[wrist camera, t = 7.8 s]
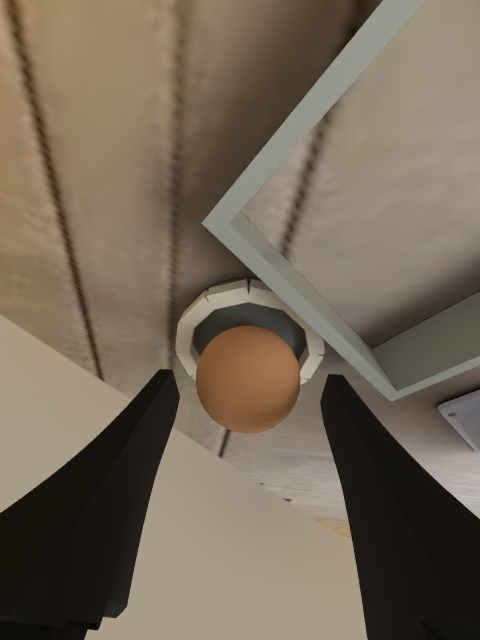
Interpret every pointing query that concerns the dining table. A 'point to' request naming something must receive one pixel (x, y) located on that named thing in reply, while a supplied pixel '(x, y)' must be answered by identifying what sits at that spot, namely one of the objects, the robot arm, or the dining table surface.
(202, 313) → the ring
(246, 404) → the orange ball
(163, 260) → the dining table surface
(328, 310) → the low pen
